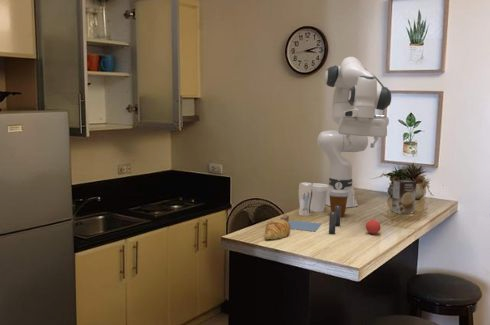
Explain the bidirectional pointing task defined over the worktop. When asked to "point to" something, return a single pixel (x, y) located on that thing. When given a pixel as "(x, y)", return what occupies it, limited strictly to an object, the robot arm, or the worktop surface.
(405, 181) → the coffee box
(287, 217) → the wall
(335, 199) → the disposable coffee cup
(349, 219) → the worktop surface
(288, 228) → the croissant
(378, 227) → the ball
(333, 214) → the post
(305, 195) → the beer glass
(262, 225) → the worktop surface
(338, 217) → the post
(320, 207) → the foam cup
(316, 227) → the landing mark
